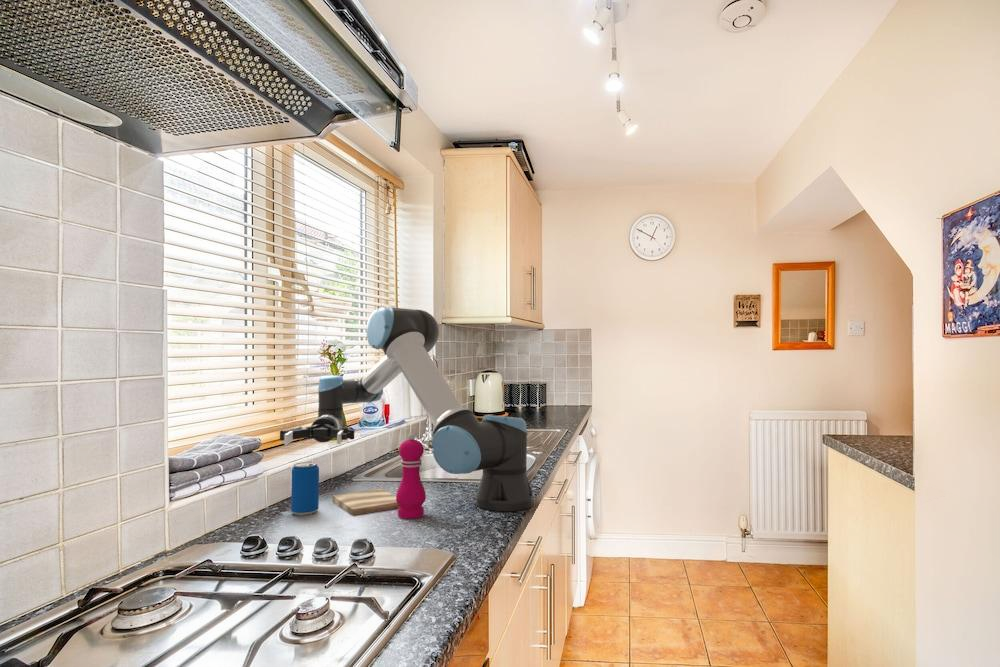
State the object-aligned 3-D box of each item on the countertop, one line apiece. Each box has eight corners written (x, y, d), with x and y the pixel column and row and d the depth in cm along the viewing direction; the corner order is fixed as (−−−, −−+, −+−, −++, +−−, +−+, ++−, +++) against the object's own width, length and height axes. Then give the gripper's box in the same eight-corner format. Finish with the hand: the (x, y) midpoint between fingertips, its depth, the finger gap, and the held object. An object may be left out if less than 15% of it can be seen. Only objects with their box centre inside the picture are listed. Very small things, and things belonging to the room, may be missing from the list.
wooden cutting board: (405, 506, 144) (405, 500, 144) (352, 515, 137) (352, 509, 137) (381, 493, 158) (382, 488, 158) (332, 501, 150) (332, 495, 150)
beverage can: (323, 512, 139) (323, 463, 140) (298, 517, 135) (299, 467, 135) (310, 507, 144) (311, 460, 144) (286, 512, 139) (287, 464, 139)
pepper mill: (419, 520, 132) (420, 435, 133) (391, 518, 134) (391, 435, 134) (429, 512, 139) (430, 431, 140) (402, 510, 141) (402, 431, 142)
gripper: (366, 440, 172) (359, 452, 151) (282, 441, 169) (263, 454, 148) (367, 415, 173) (360, 424, 152) (282, 416, 169) (263, 425, 148)
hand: (312, 439), depth 150 cm, fingers open, 13 cm apart
